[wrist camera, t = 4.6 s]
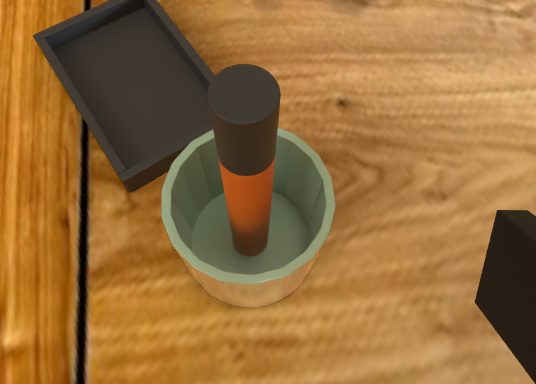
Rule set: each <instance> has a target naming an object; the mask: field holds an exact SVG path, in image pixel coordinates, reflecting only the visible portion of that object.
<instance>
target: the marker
mask: <svg viewBox="0 0 536 384" xmlns="http://www.w3.org/2000/svg"><path fill="white" fill-rule="evenodd" d="M280 96H281V94H280V88H279V85H278V83H277V81H276V80H275V78H274V77H273V76H272V75H271V74H270V73H269V72H268V71H266V70H265V69H263V68H261V67H258V66H255V65H250V64H238V65H233V66H230V67H227V68H225V69H223V70H222V71H220V72H219V73H218V74H217V75H216V76H215V77H214V78H213V80H212V81H211V83H210V85H209V88H208V93H207V98H208V104H209V110H210V115H211V121H212V126H213V132H214V138H215V143H216V149H217V154H218V160H219V165H220V171H221V177H222V182H223V188H224V193H225V199H226V204H227V210H228V216H229V221H230V227H231V232H232V238H233V243H234V246H235V248H236V250H237V251H238V252H239V253H241V254H242V255H245V256H256V255H258V254H260V253H262V252H263V251H264V249H265V248H266V246H267V243H268V234H269V222H270V211H271V199H272V188H273V176H274V165H275V153H276V142H277V131H278V119H279V108H280Z"/></svg>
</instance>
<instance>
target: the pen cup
mask: <svg viewBox="0 0 536 384" xmlns="http://www.w3.org/2000/svg"><path fill="white" fill-rule="evenodd" d="M335 208H336V203H335V196H334V189H333V183H332V178H331V176H330V174H329V172H328V170H327V169H326V167H325V165H324V163H323V161H322V160H321V158H320V156H319V154H318V153H317V152H316V151H314V150H313V149H312V148H311V147H310V146H309V145H308V144H307V143H305V142H304V141H303V140H302V139H301V138H300V137H299V136H297V135H295V134H293V133H290V132H288V131H286V130H283V129H281V128H279V127H278V131H277V142H276V153H275V165H274V176H273V188H272V199H271V211H270V222H269V234H268V243H267V246H266V248H265V249H264V251H263V252H262V253H260V254H258V255H256V256H245V255H242V254H241V253H239V252H238V251H237V250H236V248H235V246H234V243H233V238H232V232H231V227H230V221H229V216H228V210H227V204H226V199H225V193H224V188H223V182H222V177H221V171H220V165H219V160H218V154H217V149H216V143H215V138H214V132H213V130H211V131H209V132H207V133H205V134H204V135H202V136H200V137H198V138H197V139H195V140H193V141H192V142H190V144H189V145H188V146H187V147H186V148H185V149H184V150H183V151H182V153H181V154H180V155H179V156H178V157H177V158H176V159H175V160H174V161H173V163H172V165H171V167H170V170H169V172H168V175H167V177H166V180H165V182H164V185H163V187H162V210H161V216H162V220H163V223H164V225H165V228H166V231H167V233H168V236H169V239H170V241H171V244H172V245H173V247H174V248H175V250H176V251H177V253H178V254H179V256H180V257H181V259H182V260H183V262H184V263H185V265H186V266H187V268H188V269H189V271H190V272H191V274H192V275H193V277H194V278H195V279H196V280H197V281H198V283H199V284H200V285H201V286H202V287H203V288H204V289H205V290H206V291H207V292H208V293H209V294H210V295H212V296H213V297H215V298H217V299H218V300H220V301H222V302H225V303H227V304H230V305H234V306H238V307H248V308H251V307H261V306H266V305H269V304H272V303H275V302H277V301H279V300H281V299H283V298H285V297H286V296H288V295H289V294H291V293H292V292H293V291H294V290H295V289H297V288H298V287H299V285H300V284H301V283H302V281H303V280H304V278H305V277H306V275H307V274H308V272H309V271H310V269H311V268H312V266H313V264H314V262H315V260H316V258H317V256H318V254H319V252H320V251H321V249H322V247H323V245H324V243H325V241H326V239H327V237H328V235H329V233H330V229H331V225H332V221H333V216H334V212H335Z"/></svg>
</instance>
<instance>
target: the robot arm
mask: <svg viewBox="0 0 536 384" xmlns="http://www.w3.org/2000/svg"><path fill="white" fill-rule="evenodd" d="M475 303H476V305H477V306H478V307H479V309H480V310H481V311H482V313H483V314H484V315H485V317H486V318H487V319H488V321H489V322H490V323H491V325H492V326H493V327H494V329H495V330H496V331H497V333H498V334H499V335H500V337H501V338H502V340H503V341H504V342H505V344H506V345H507V346H508V348H509V349H510V350H511V352H512V353H513V354H514V356H515V357H516V358H517V360H518V361H519V362H520V364H521V365H522V366H523V368H524V369H525V370H526V372H527V373H528V375H529V376H530V377H531V379H532V380H533V381H534V383H535V384H536V216H534V215H533V214H532V213H530V212H529V211H528V210H497V213H496V217H495V221H494V225H493V229H492V233H491V237H490V242H489V246H488V250H487V254H486V258H485V262H484V266H483V270H482V275H481V279H480V283H479V287H478V291H477V295H476V299H475Z"/></svg>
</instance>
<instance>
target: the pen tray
mask: <svg viewBox="0 0 536 384" xmlns="http://www.w3.org/2000/svg"><path fill="white" fill-rule="evenodd" d="M33 37H34V39H35V40H36V42H37V43H38V45H39V47H40V48H41V50H42V52H43V53H44V55H45V57H46V58H47V60H48V61H49V63H50V65H51V66H52V68H53V70H54V71H55V73H56V75H57V76H58V78H59V79H60V81H61V83H62V84H63V86H64V88H65V89H66V91H67V92H68V94H69V96H70V97H71V99H72V101H73V102H74V104H75V106H76V107H77V109H78V110H79V112H80V114H81V115H82V117H83V119H84V120H85V122H86V123H87V125H88V127H89V128H90V130H91V132H92V133H93V135H94V137H95V138H96V140H97V141H98V143H99V145H100V146H101V148H102V150H103V151H104V153H105V155H106V156H107V158H108V159H109V161H110V163H111V164H112V166H113V168H114V169H115V171H116V172H117V174H118V176H119V177H120V179H121V181H122V182H123V184H124V185H125V186H126V188H127V189H128V191H129V192H132V191H134V190H136V189H138V188H139V187H141V186H143V185H145V184H146V183H148V182H150V181H151V180H153V179H155V178H157V177H158V176H160V175H162V174H164V173H165V172H167V171H169V170H170V167H171V165H172V163H173V161H174V160H175V159H176V158H177V157H178V156H179V155H180V154H181V153H182V151H183V150H184V149H185V148H186V147H187V146H188V145H189V144H190V142H192V141H193V140H195V139H197V138H198V137H200V136H202V135H204V134H205V133H207V132H209V131H211V130H213V126H212V121H211V115H210V110H209V104H208V98H207V93H208V88H209V85H210V83H211V81H212V80H213V78H214V77H215V76H214V74H213V73H212V72H211V70H210V69H209V68H208V66H207V65H206V64H205V63H204V61H203V60H202V59H201V57H200V56H199V55H198V54H197V52H196V51H195V50H194V48H193V47H192V46H191V45H190V43H189V42H188V41H187V39H186V38H185V37H184V35H183V34H182V33H181V32H180V30H179V29H178V28H177V26H176V25H175V24H174V23H173V21H172V20H171V19H170V17H169V16H168V15H167V13H166V12H165V11H164V10H163V8H162V7H161V6H160V4H159V3H158V2H157V1H156V0H110V1H107V2H105V3H103V4H101V5H99V6H96V7H94V8H92V9H90V10H88V11H85V12H83V13H81V14H79V15H76V16H74V17H72V18H70V19H68V20H65V21H63V22H61V23H59V24H57V25H54V26H52V27H50V28H48V29H46V30H43V31H41V32H39V33H37V34H34V35H33Z"/></svg>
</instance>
